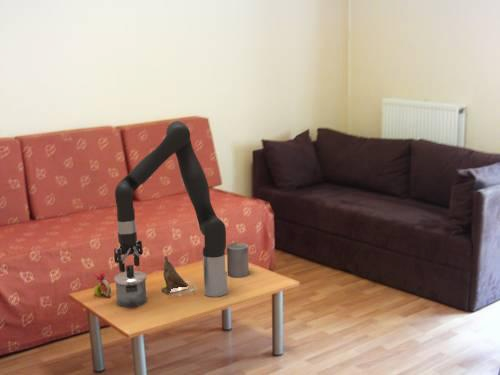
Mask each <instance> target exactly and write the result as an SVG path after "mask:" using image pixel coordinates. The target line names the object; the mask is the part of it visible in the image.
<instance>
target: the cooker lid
mask: <svg viewBox="0 0 500 375" xmlns="http://www.w3.org/2000/svg"><path fill="white" fill-rule="evenodd" d="M134 269H135V268H134V264H127V265H125V272H119V273H117V274H116V275H115V276H114V278H113V279H114V282H116V283H118V284H125V285H128V284H136V283H140V282H143V281H145V282H146V280H147V273H145V272H144V271H139V270H134ZM116 283H115V284H116Z"/></svg>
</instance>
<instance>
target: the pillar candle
mask: <svg viewBox="0 0 500 375" xmlns="http://www.w3.org/2000/svg"><path fill="white" fill-rule="evenodd" d="M226 257H227V258H226V259H227V261H226V264H227V277H228V276H229V277H230V278H234V279H235V278H237V279H240V278H245V277H247V276H249V272H250V271H249V270H250V268H249V245H248V244H247V243H245V242H232V243H229V244H226Z"/></svg>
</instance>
